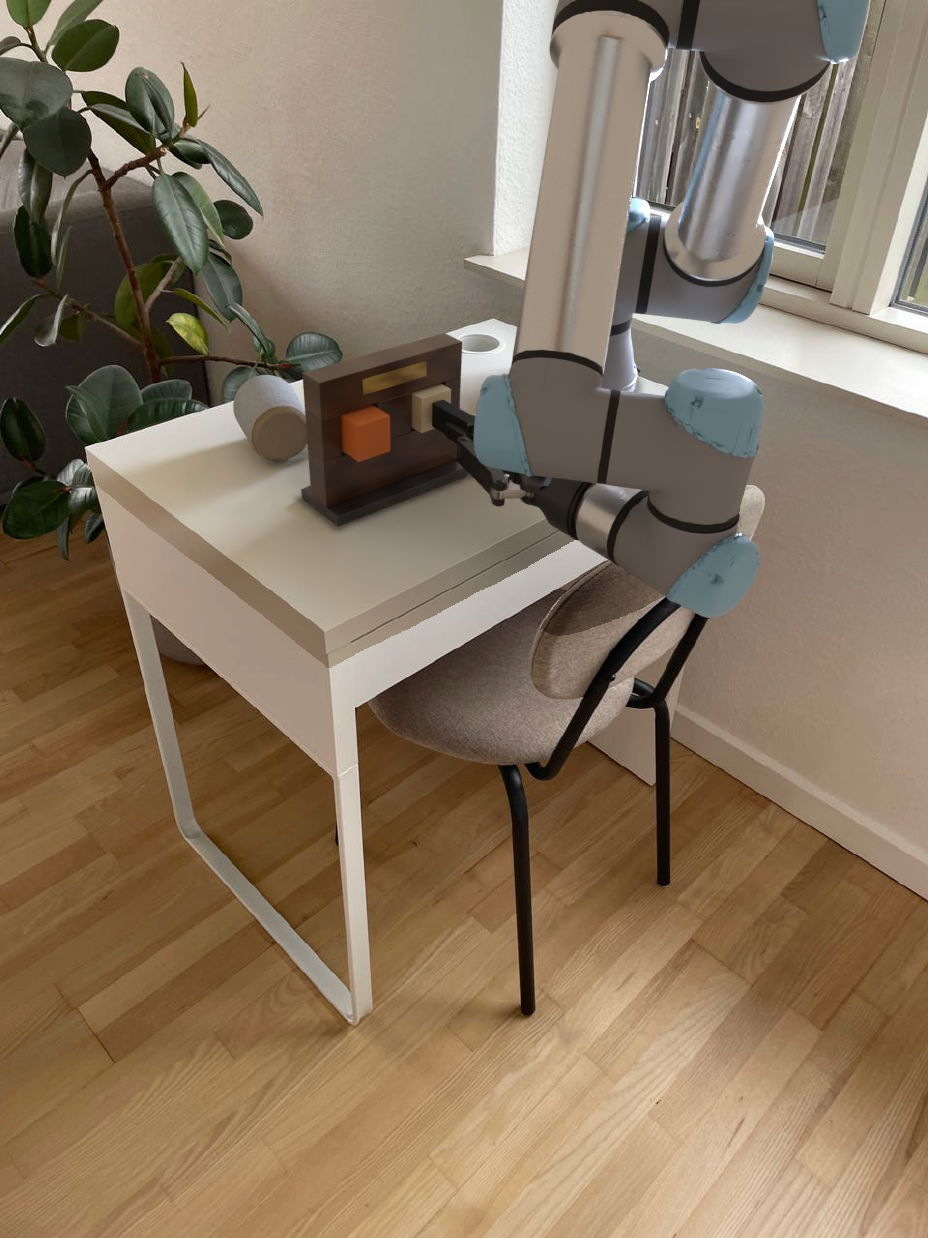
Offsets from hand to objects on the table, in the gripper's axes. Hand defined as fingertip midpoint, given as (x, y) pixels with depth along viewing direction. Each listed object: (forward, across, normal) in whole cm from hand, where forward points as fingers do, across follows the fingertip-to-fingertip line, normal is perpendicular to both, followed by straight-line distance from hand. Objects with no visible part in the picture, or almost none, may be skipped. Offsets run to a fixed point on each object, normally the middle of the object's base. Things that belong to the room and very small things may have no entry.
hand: (437, 413), depth 99 cm
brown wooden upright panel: (+3, -4, -9) cm, 10 cm away
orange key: (+1, -9, -2) cm, 9 cm away
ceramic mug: (+18, -8, -9) cm, 22 cm away
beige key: (+2, 0, -2) cm, 3 cm away
